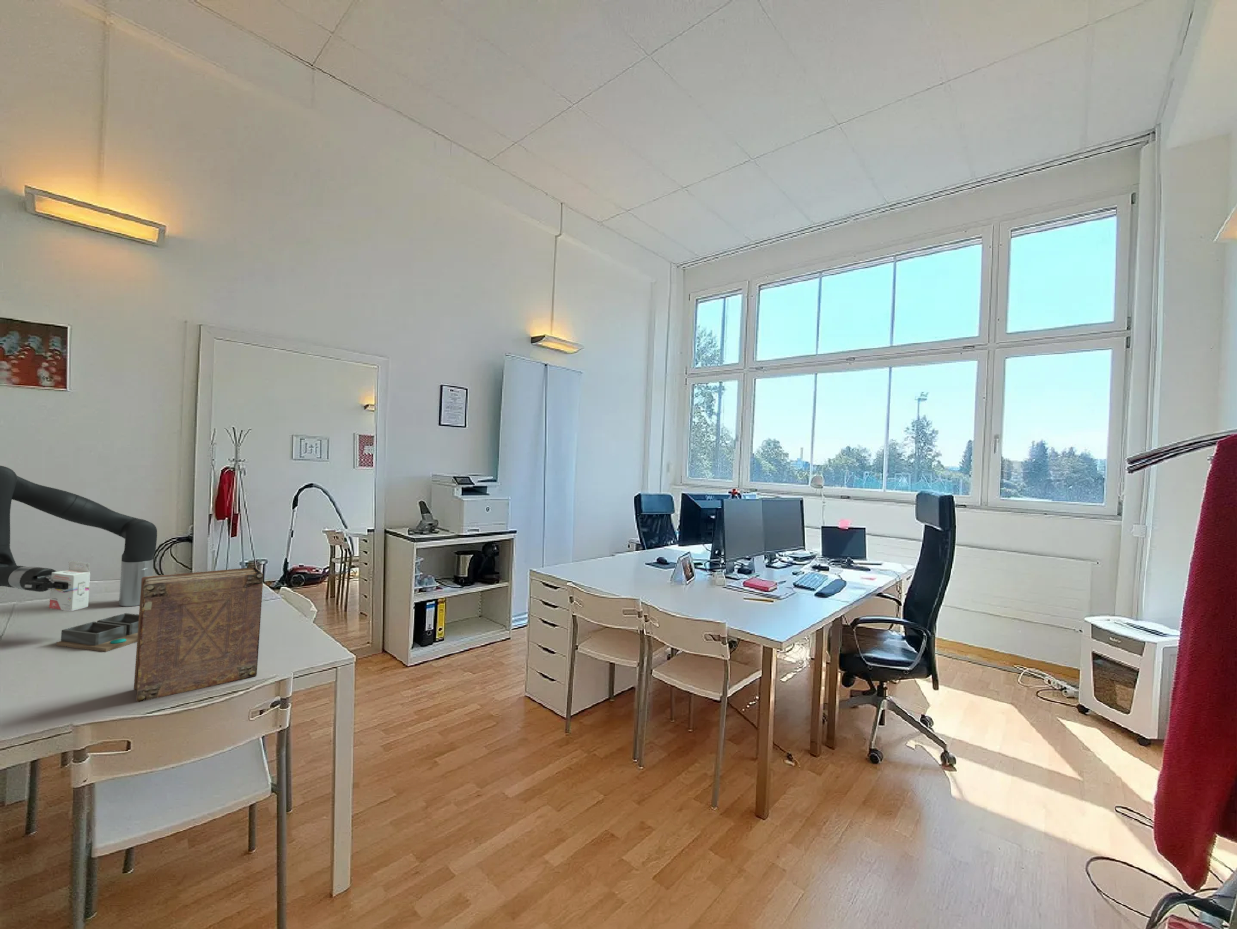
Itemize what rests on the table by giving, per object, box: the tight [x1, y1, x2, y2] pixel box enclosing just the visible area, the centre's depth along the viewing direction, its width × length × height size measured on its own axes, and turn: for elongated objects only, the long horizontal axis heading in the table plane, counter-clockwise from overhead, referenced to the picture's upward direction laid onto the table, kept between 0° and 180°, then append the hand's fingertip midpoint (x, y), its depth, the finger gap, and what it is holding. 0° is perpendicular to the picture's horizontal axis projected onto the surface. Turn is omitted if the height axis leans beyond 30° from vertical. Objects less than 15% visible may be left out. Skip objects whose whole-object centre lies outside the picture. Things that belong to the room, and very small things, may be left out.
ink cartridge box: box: [48, 560, 91, 612], centre depth 161 cm, size 9×5×15 cm, turn 84°
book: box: [133, 566, 264, 703], centre depth 138 cm, size 25×9×30 cm, turn 136°
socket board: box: [56, 612, 139, 653], centre depth 164 cm, size 20×18×4 cm
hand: (77, 584), depth 161 cm, fingers closed on ink cartridge box, 5 cm apart
